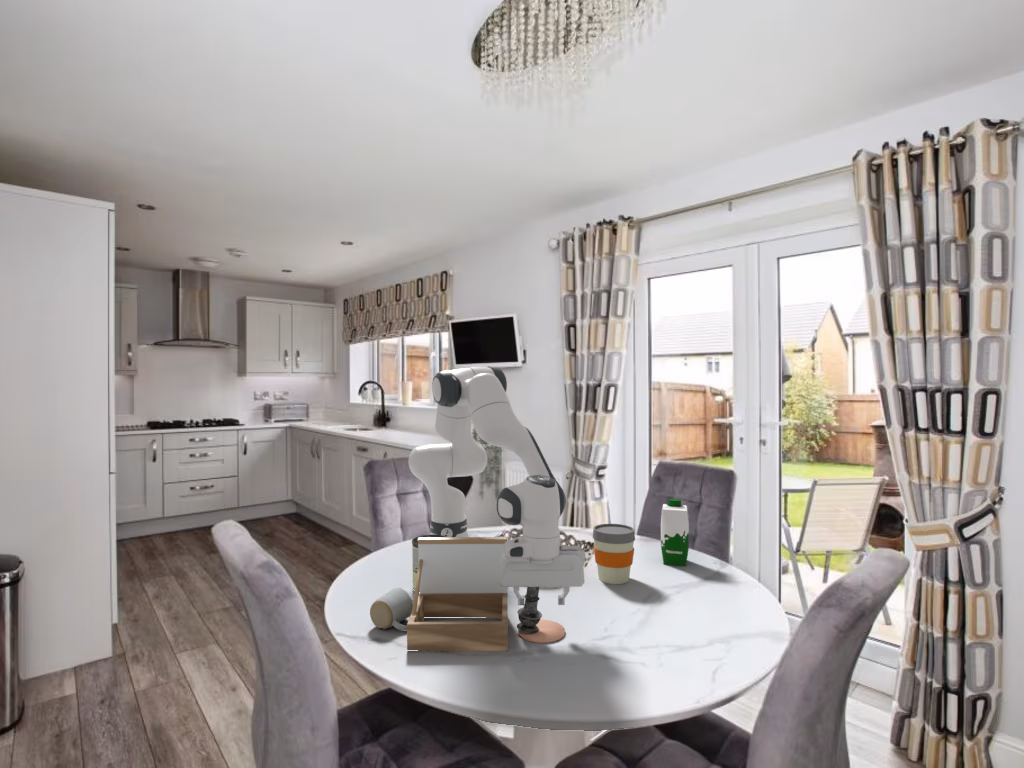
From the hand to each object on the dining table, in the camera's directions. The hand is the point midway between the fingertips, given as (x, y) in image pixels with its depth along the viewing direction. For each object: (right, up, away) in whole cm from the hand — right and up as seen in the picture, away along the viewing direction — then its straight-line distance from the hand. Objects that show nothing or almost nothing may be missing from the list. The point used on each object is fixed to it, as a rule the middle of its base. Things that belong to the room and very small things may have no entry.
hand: (541, 604), depth 129 cm
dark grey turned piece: (-3, -6, 0) cm, 7 cm away
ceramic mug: (-35, -7, +4) cm, 36 cm away
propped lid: (-19, -1, +2) cm, 19 cm away
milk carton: (+46, -7, +50) cm, 69 cm away
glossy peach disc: (0, -7, 0) cm, 7 cm away
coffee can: (-30, -7, +28) cm, 41 cm away
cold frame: (-19, -7, 0) cm, 20 cm away
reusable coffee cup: (+24, -7, +35) cm, 43 cm away
